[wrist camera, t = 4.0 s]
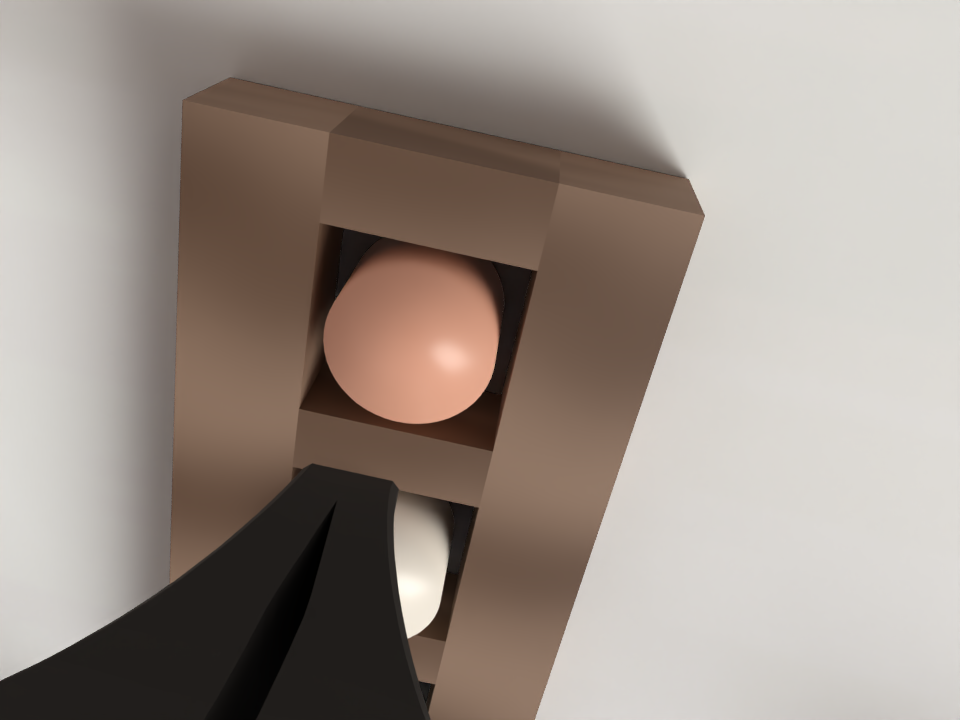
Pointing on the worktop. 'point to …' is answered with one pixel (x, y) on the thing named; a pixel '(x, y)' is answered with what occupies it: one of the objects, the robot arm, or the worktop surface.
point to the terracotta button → (415, 331)
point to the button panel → (429, 446)
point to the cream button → (421, 556)
